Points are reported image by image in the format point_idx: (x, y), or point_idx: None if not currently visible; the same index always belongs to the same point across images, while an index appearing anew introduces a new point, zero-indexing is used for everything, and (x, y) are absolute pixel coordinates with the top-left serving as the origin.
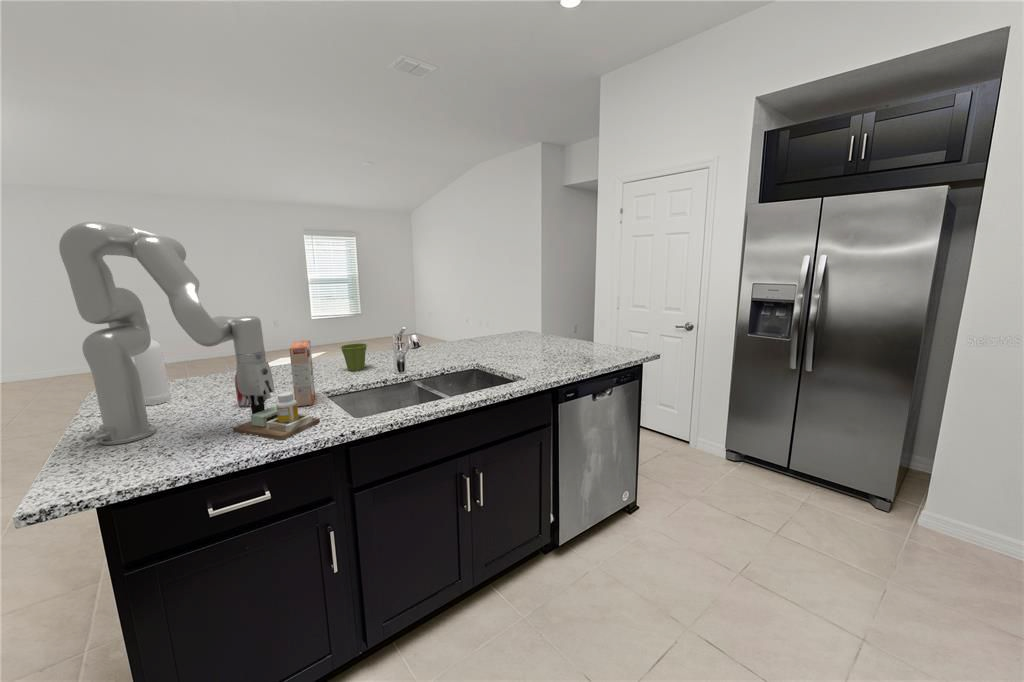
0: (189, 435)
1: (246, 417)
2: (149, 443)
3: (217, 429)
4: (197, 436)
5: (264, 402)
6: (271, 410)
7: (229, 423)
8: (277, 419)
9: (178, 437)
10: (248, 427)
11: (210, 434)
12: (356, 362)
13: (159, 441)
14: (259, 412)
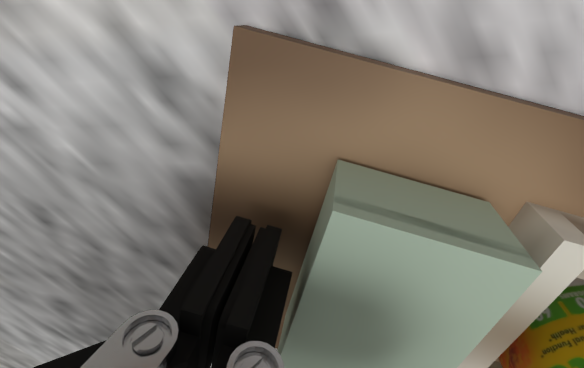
0: (54, 317)
1: (53, 86)
2: (9, 358)
3: (95, 270)
4: (97, 329)
5: (278, 361)
6: (388, 322)
7: (64, 197)
8: (488, 361)
9: (37, 329)
10: (282, 326)
11: (128, 317)
12: None
13: (18, 349)
14: (300, 352)
